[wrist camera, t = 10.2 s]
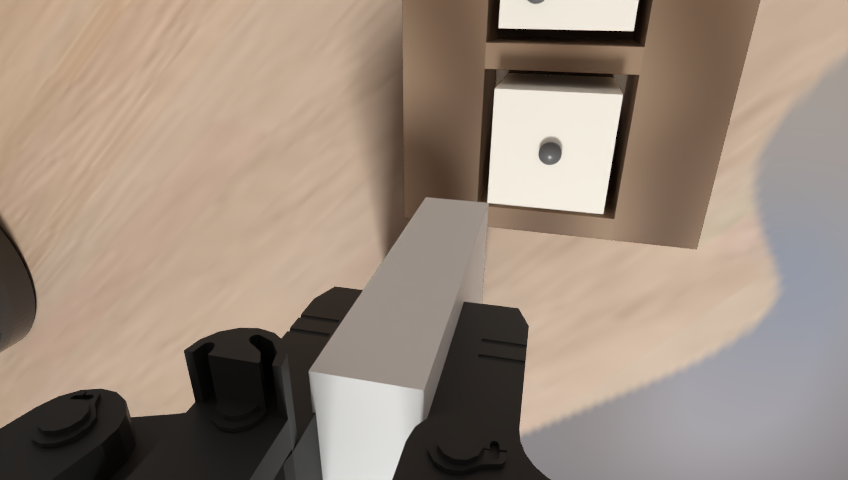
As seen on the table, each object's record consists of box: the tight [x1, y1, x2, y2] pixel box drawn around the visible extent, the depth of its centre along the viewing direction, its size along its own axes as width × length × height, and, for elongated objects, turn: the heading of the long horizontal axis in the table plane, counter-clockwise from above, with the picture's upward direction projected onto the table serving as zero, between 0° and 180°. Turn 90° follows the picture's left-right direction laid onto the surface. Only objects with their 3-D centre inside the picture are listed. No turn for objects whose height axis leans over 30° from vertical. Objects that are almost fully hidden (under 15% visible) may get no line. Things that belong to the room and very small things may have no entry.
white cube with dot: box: [487, 73, 623, 214], centre depth 23 cm, size 5×5×5 cm
